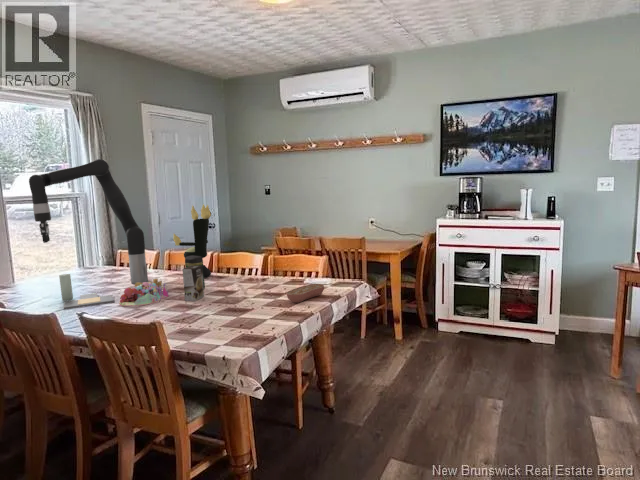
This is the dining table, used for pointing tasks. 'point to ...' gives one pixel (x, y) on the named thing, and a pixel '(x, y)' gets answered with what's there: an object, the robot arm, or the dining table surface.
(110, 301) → the t board
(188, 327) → the dining table surface
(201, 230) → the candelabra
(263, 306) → the dining table surface
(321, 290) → the brown planter trough
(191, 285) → the coffee box
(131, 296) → the candy landscape model
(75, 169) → the robot arm
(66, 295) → the grey-green rectangular block
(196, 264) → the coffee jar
